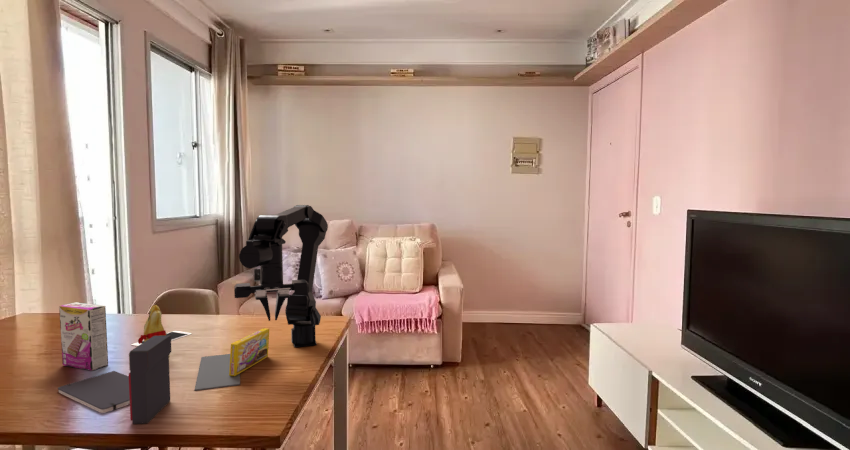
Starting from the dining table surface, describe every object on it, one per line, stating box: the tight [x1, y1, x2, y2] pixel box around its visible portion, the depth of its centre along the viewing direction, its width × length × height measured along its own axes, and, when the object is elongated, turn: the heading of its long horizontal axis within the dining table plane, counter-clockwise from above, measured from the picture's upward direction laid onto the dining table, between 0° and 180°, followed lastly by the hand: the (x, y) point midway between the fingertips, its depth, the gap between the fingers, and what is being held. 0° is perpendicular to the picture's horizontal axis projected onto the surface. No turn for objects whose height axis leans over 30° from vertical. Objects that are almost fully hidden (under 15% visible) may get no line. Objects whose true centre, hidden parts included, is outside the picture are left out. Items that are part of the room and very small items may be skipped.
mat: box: [193, 353, 241, 392], centre depth 129 cm, size 10×24×1 cm, turn 21°
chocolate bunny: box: [137, 304, 170, 358], centre depth 137 cm, size 7×11×15 cm, turn 45°
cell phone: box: [130, 330, 193, 347], centre depth 155 cm, size 8×16×1 cm, turn 158°
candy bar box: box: [58, 301, 109, 372], centre depth 131 cm, size 11×5×16 cm, turn 71°
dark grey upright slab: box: [128, 335, 172, 425], centre depth 104 cm, size 11×4×15 cm, turn 5°
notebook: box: [57, 370, 130, 414], centre depth 115 cm, size 13×2×21 cm
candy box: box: [229, 327, 270, 376], centre depth 131 cm, size 16×2×8 cm, turn 168°
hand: (272, 320), depth 133 cm, fingers closed
